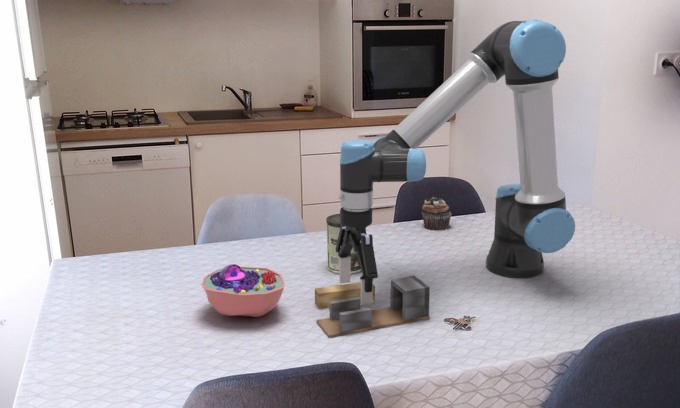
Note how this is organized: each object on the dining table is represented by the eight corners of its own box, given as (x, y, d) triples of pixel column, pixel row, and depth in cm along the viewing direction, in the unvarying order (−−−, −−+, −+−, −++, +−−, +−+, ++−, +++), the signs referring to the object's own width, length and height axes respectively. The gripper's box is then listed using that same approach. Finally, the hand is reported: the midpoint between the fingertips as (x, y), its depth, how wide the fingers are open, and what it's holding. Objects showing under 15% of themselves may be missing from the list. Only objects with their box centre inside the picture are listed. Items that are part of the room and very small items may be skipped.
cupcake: (443, 233, 203) (444, 202, 200) (416, 228, 208) (416, 198, 206) (455, 225, 211) (456, 196, 208) (429, 220, 216) (429, 192, 213)
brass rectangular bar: (369, 296, 157) (370, 280, 156) (375, 301, 153) (375, 286, 152) (315, 303, 152) (314, 288, 151) (319, 309, 149) (318, 293, 148)
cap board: (412, 305, 150) (413, 275, 148) (429, 318, 143) (430, 287, 141) (316, 322, 142) (315, 290, 140) (328, 337, 135) (328, 304, 133)
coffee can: (367, 262, 179) (367, 213, 175) (361, 275, 169) (361, 224, 165) (331, 259, 181) (330, 212, 177) (323, 273, 171) (322, 222, 167)
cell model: (256, 338, 135) (253, 288, 132) (187, 317, 146) (184, 270, 143) (302, 309, 149) (301, 263, 146) (236, 291, 160) (234, 248, 157)
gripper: (322, 196, 158) (323, 276, 163) (362, 223, 135) (361, 316, 141) (351, 193, 160) (350, 272, 166) (394, 220, 138) (391, 311, 143)
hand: (355, 292), depth 153 cm, fingers open, 13 cm apart
